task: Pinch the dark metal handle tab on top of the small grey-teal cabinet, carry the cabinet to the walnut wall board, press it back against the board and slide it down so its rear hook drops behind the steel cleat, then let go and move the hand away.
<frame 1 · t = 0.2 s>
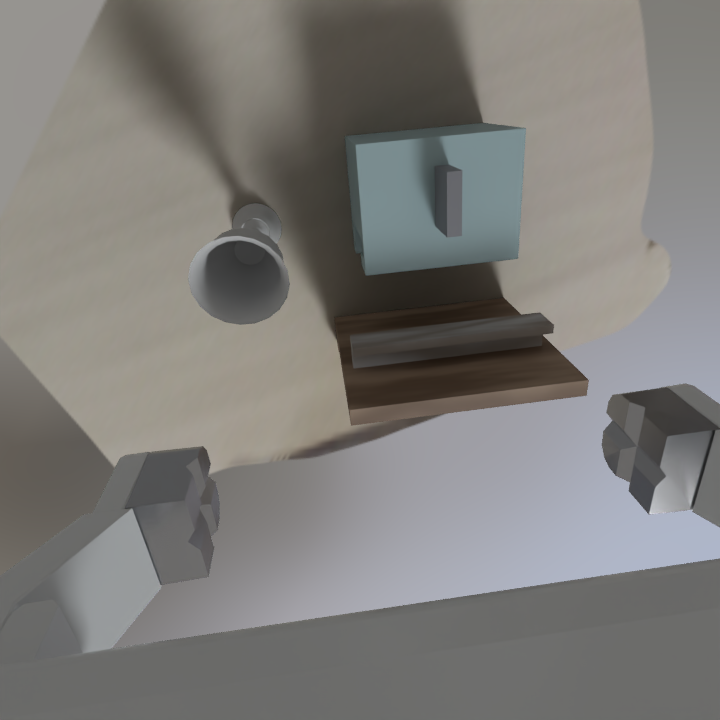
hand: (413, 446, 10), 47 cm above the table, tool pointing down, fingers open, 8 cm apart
chalice: (257, 227, 54), on the table
wall board: (419, 307, 60), on the table
cabinet: (415, 171, 53), on the table
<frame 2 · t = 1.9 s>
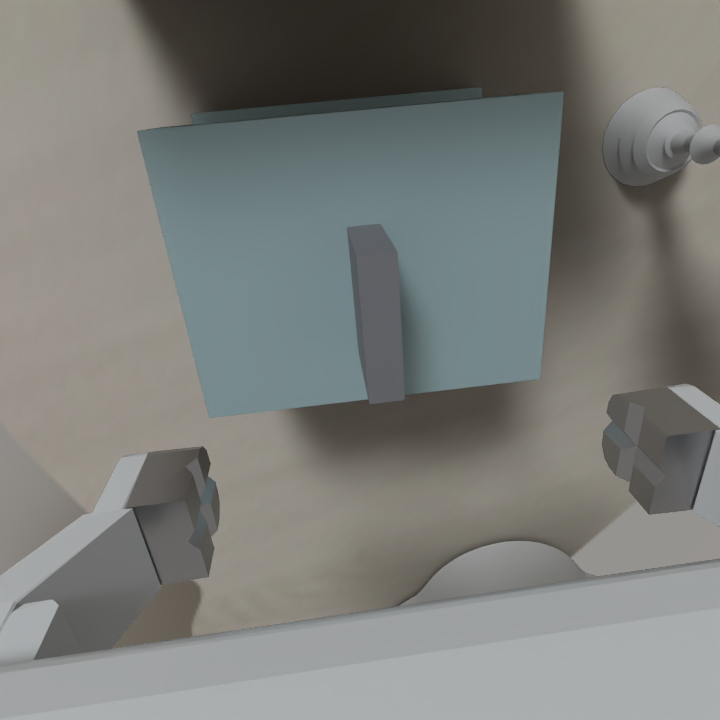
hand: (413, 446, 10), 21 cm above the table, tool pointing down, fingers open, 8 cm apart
chalice: (645, 138, 29), on the table
cabinet: (349, 242, 30), on the table
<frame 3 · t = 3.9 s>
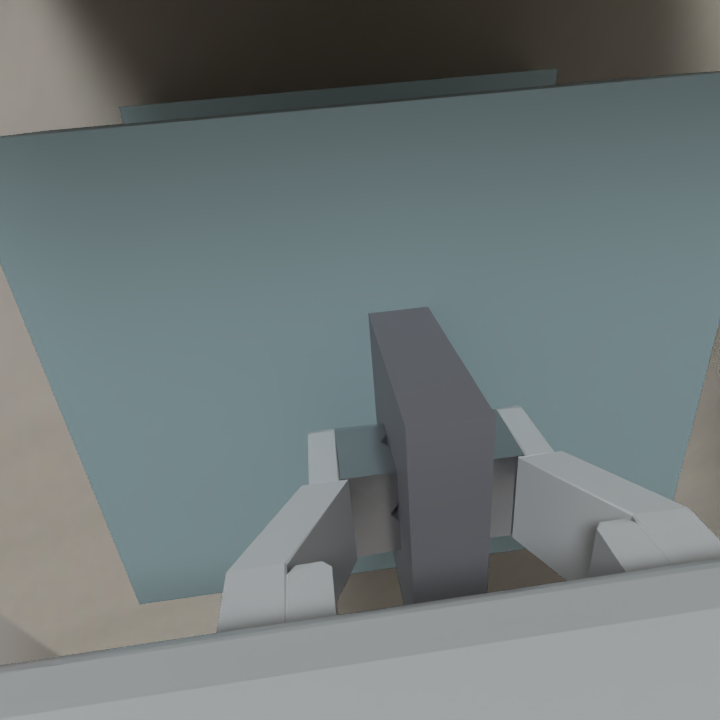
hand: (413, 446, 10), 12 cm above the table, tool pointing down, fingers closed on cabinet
cabinet: (356, 286, 21), on the table, touching gripper
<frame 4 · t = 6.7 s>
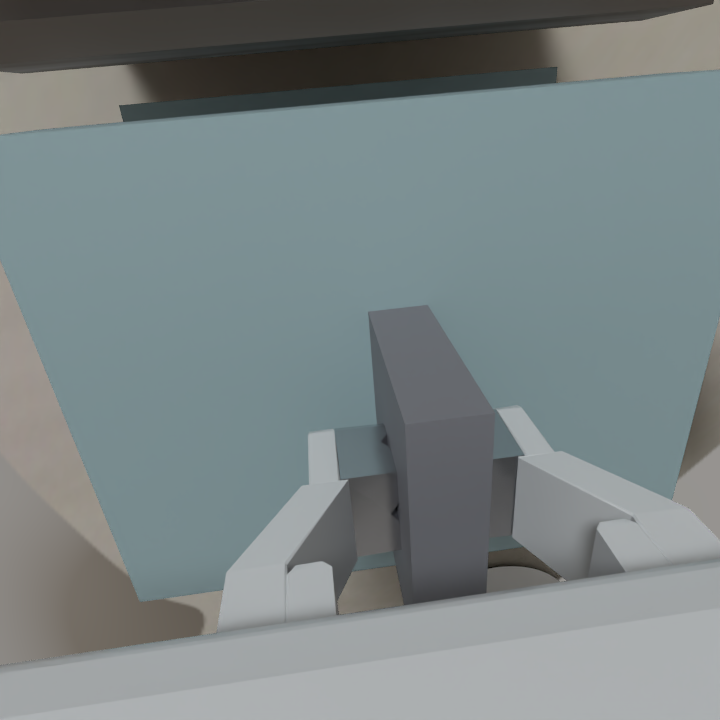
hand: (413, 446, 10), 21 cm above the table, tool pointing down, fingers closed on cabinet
cabinet: (356, 284, 22), point 9 cm above the table, touching gripper
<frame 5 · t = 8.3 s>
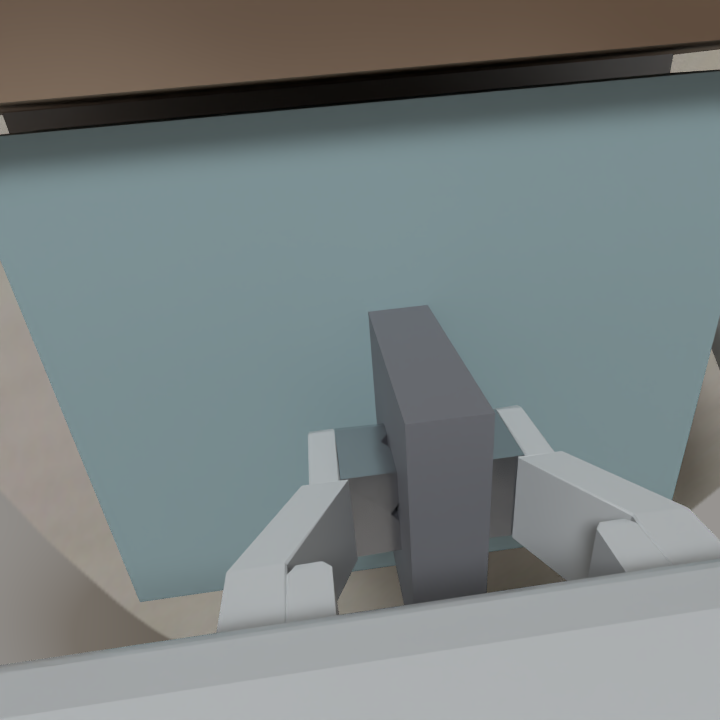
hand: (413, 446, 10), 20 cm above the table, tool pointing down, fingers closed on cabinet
wall board: (326, 90, 25), on the table
cabinet: (356, 284, 22), point 8 cm above the table, touching gripper
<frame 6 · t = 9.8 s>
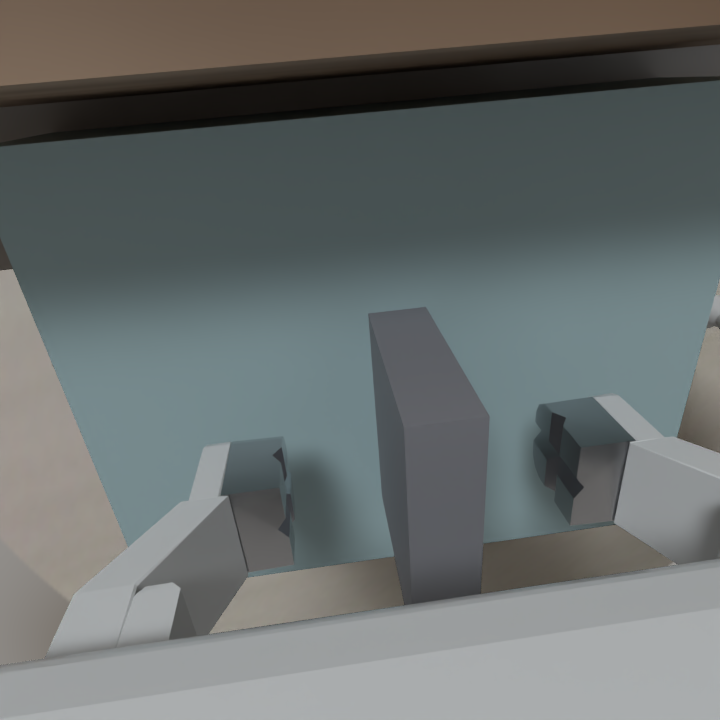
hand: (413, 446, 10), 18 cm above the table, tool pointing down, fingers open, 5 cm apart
wall board: (328, 87, 23), on the table
cabinet: (355, 280, 22), point 5 cm above the table, touching wall board
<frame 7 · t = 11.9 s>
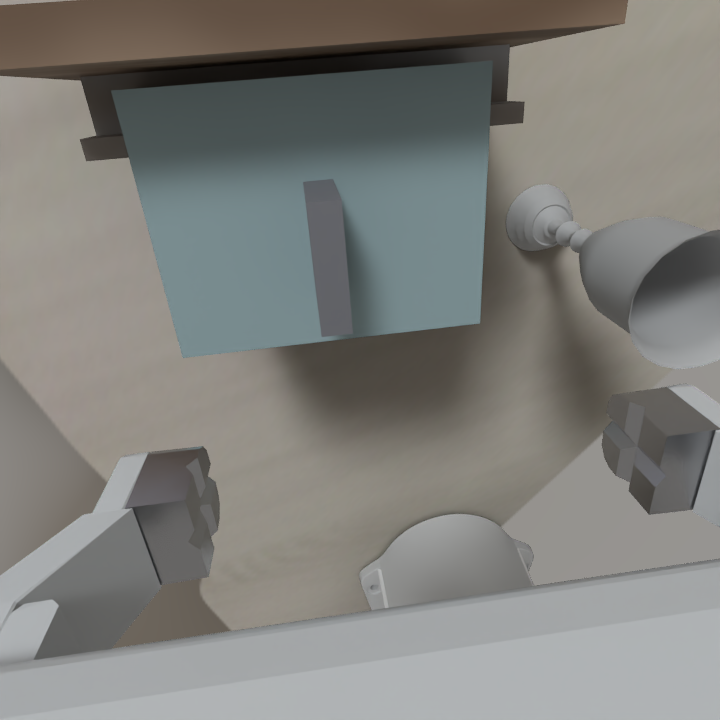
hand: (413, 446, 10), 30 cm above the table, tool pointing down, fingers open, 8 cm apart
chalice: (537, 218, 40), on the table
wall board: (297, 71, 33), on the table
cabinet: (314, 203, 32), point 5 cm above the table, touching wall board
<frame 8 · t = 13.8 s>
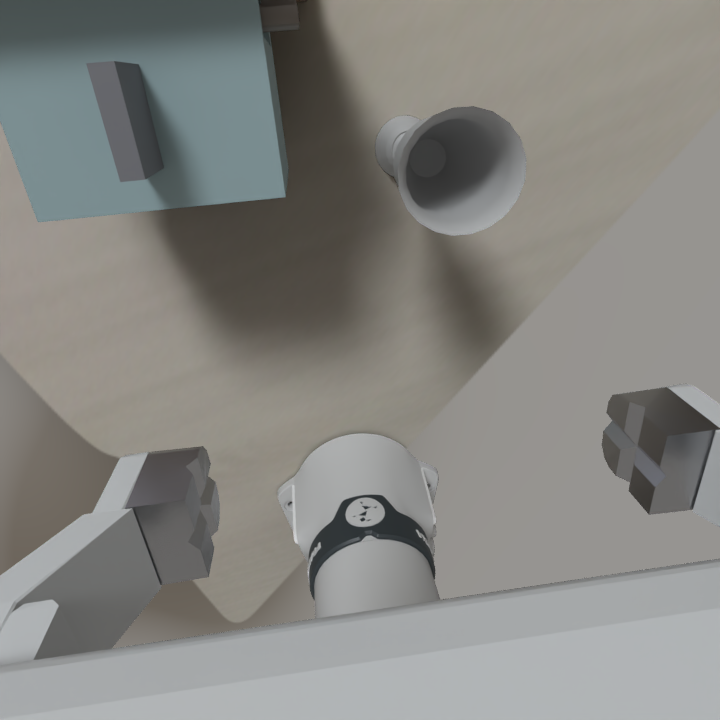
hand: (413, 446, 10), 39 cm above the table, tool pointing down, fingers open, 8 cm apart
chalice: (403, 147, 45), on the table
wall board: (174, 11, 39), on the table
cabinet: (183, 121, 37), point 5 cm above the table, touching wall board
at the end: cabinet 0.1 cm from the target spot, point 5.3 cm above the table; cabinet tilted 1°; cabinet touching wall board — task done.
